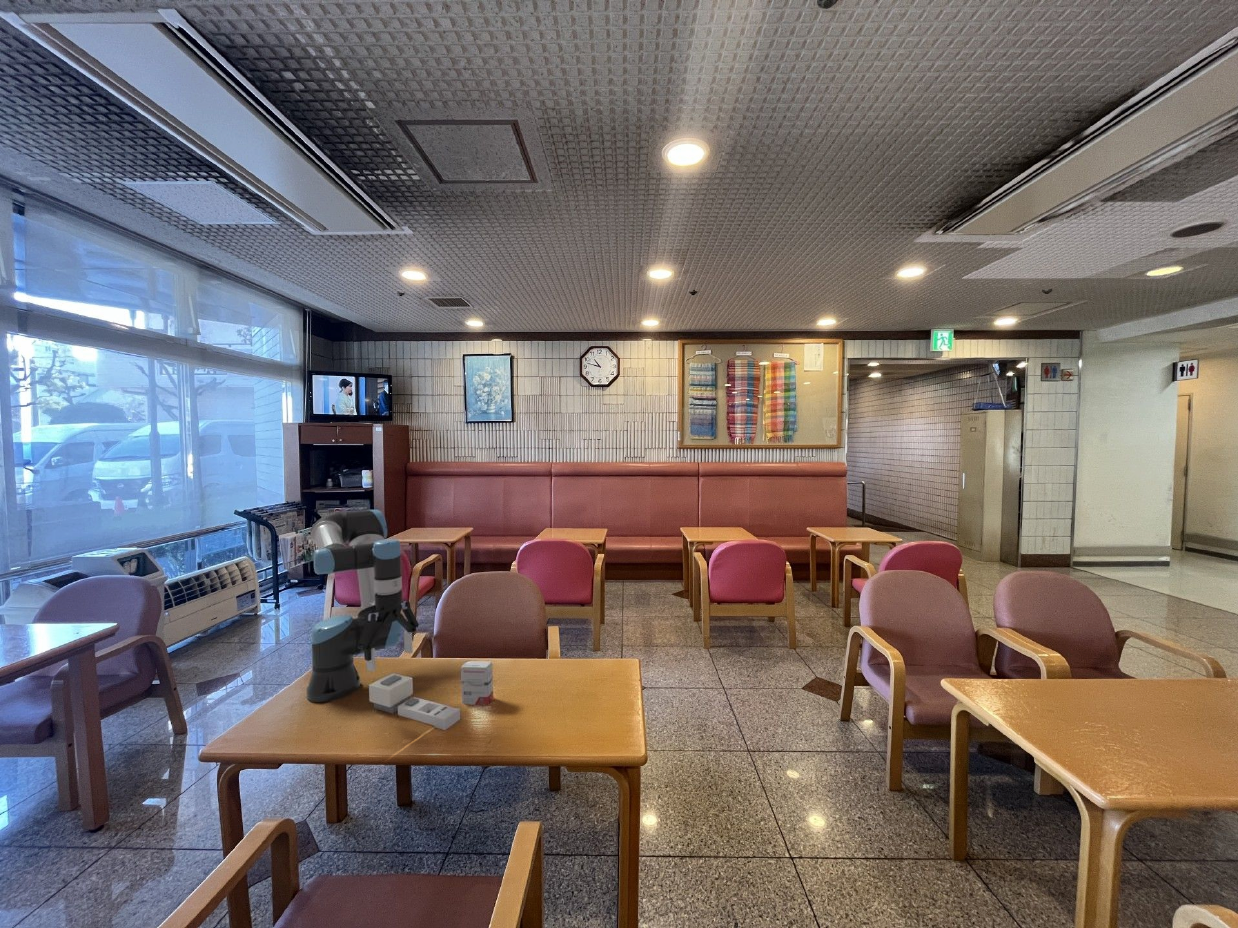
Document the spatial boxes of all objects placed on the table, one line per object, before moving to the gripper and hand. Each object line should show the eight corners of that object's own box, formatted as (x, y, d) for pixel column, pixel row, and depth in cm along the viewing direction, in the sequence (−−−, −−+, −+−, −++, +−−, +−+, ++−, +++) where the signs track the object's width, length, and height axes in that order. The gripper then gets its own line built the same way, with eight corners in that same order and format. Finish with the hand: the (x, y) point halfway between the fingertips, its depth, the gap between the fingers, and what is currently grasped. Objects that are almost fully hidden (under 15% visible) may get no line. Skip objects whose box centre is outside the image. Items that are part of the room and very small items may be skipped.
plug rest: (373, 709, 149) (373, 699, 149) (390, 699, 155) (390, 690, 155) (393, 714, 146) (392, 704, 146) (409, 705, 151) (409, 695, 151)
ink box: (494, 697, 155) (493, 660, 155) (488, 705, 151) (487, 667, 150) (467, 696, 156) (466, 659, 156) (461, 704, 151) (460, 666, 151)
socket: (398, 716, 145) (397, 704, 145) (414, 706, 151) (413, 694, 150) (444, 730, 138) (444, 717, 138) (460, 719, 143) (459, 706, 143)
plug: (369, 709, 148) (368, 682, 148) (393, 696, 156) (392, 671, 156) (390, 715, 145) (389, 688, 144) (413, 701, 152) (412, 675, 152)
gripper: (360, 604, 136) (362, 680, 137) (429, 582, 159) (431, 647, 159) (342, 601, 139) (344, 676, 140) (412, 580, 162) (413, 644, 163)
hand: (390, 661), depth 150 cm, fingers open, 13 cm apart
